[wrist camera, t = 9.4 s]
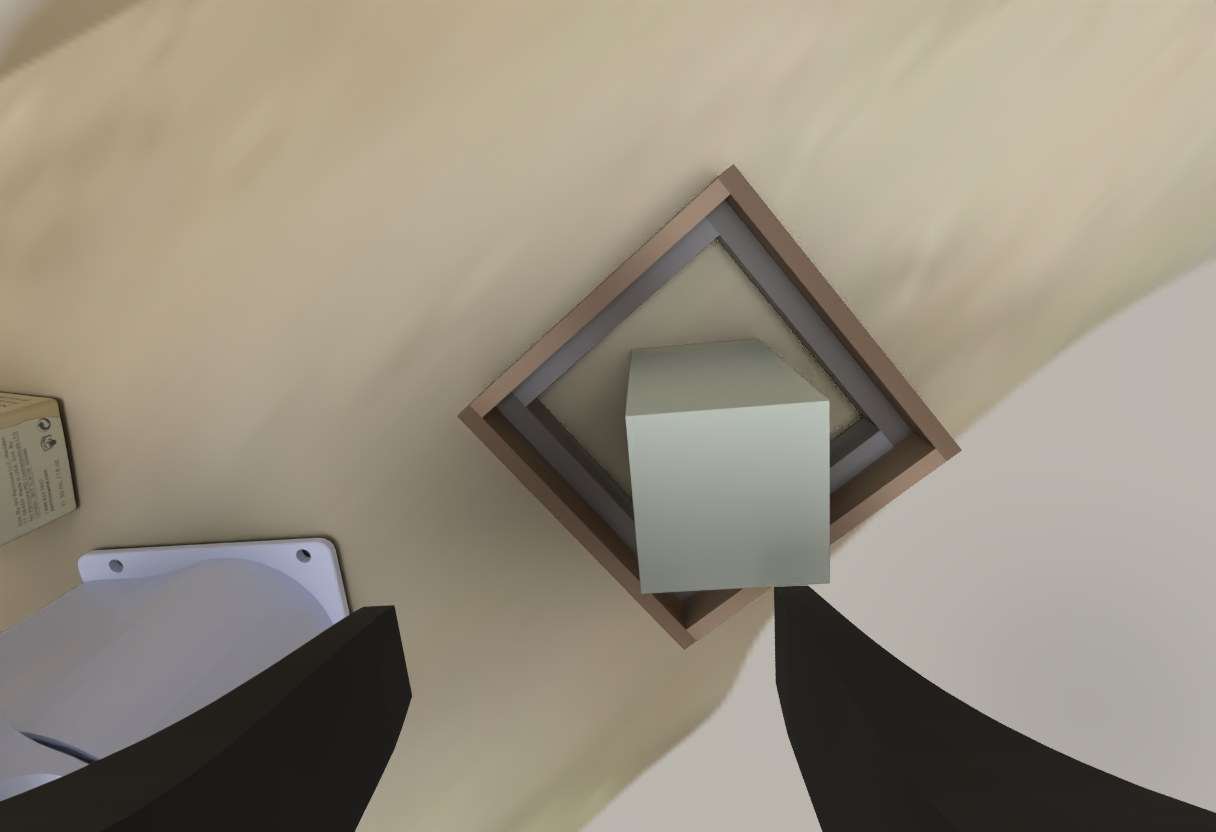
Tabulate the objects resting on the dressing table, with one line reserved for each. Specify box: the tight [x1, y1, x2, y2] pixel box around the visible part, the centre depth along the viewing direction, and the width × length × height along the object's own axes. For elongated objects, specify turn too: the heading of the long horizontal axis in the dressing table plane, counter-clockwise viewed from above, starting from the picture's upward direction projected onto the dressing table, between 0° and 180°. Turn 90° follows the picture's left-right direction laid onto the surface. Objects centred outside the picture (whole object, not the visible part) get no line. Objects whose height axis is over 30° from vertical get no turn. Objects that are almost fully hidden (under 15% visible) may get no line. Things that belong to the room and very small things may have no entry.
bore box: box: [458, 164, 961, 649], centre depth 19 cm, size 10×10×3 cm
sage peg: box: [625, 339, 830, 594], centre depth 17 cm, size 4×4×8 cm
